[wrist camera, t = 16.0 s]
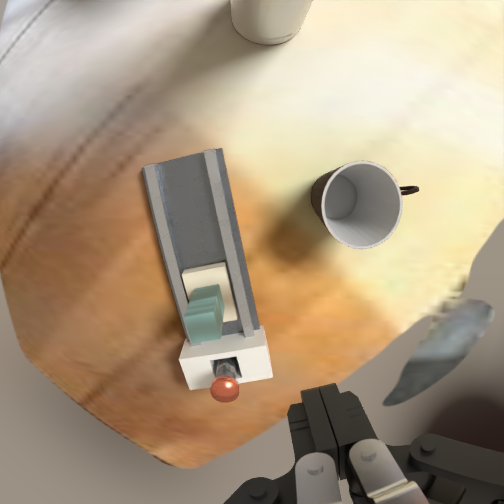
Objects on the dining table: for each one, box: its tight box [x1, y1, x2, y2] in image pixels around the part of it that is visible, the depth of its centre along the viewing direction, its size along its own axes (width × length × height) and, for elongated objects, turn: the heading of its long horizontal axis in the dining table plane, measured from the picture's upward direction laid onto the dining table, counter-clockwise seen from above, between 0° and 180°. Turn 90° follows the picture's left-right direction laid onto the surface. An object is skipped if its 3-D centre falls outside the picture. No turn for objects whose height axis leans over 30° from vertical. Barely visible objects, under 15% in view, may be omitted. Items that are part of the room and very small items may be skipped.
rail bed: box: [142, 148, 260, 346], centre depth 40 cm, size 27×10×3 cm, turn 11°
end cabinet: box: [179, 325, 273, 390], centre depth 41 cm, size 5×11×6 cm, turn 101°
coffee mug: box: [311, 161, 419, 249], centre depth 35 cm, size 12×9×10 cm
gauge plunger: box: [211, 356, 239, 402], centre depth 38 cm, size 3×3×9 cm
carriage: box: [182, 262, 237, 343], centre depth 36 cm, size 7×5×10 cm
